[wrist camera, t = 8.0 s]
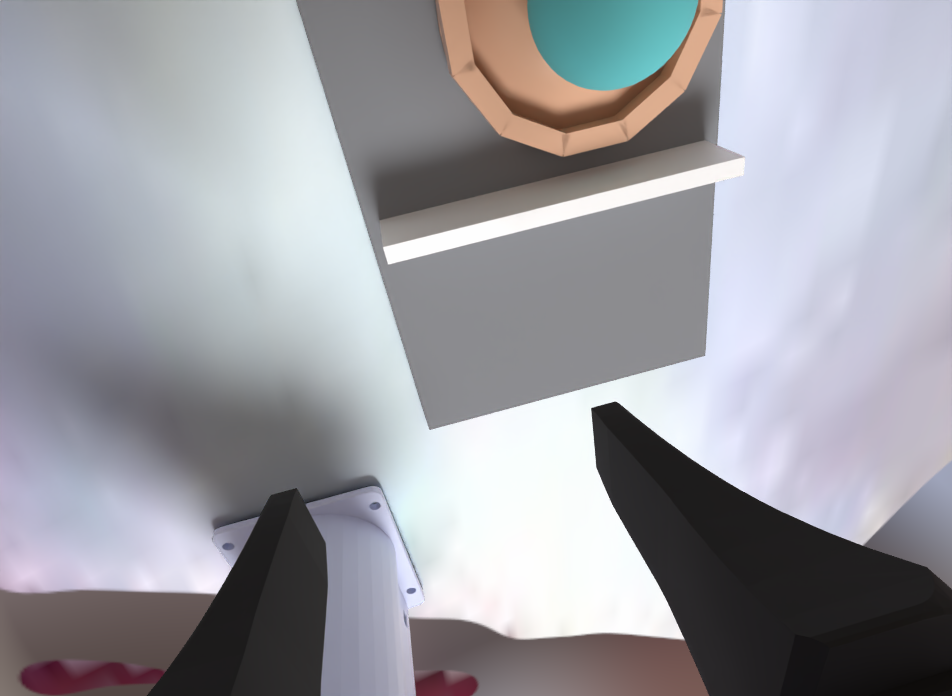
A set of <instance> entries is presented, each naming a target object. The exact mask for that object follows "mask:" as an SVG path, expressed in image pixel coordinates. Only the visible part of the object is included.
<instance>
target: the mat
mask: <svg viewBox="0 0 952 696" xmlns="http://www.w3.org/2000/svg"><path fill="white" fill-rule="evenodd" d="M296 1H297V5H298V8H299V11H300V14H301V17H302V21H303V24H304V27H305V30H306V34H307V37H308V40H309V43H310V46H311V50H312V53H313V56H314V59H315V63H316V66H317V69H318V72H319V75H320V79H321V82H322V85H323V88H324V92H325V95H326V98H327V101H328V104H329V108H330V111H331V114H332V117H333V121H334V124H335V127H336V130H337V133H338V137H339V140H340V143H341V146H342V150H343V153H344V156H345V159H346V162H347V166H348V169H349V172H350V175H351V179H352V182H353V185H354V188H355V191H356V195H357V198H358V201H359V204H360V208H361V211H362V214H363V217H364V220H365V224H366V227H367V230H368V233H369V237H370V240H371V243H372V246H373V249H374V253H375V256H376V259H377V262H378V266H379V269H380V272H381V275H382V278H383V282H384V285H385V288H386V291H387V295H388V298H389V301H390V304H391V307H392V311H393V314H394V317H395V320H396V324H397V327H398V330H399V333H400V336H401V340H402V343H403V346H404V349H405V353H406V356H407V359H408V362H409V365H410V369H411V372H412V375H413V378H414V382H415V385H416V388H417V391H418V394H419V398H420V401H421V404H422V407H423V411H424V414H425V417H426V420H427V423H428V427H429V430H431V429H435V428H439V427H442V426H446V425H450V424H453V423H457V422H461V421H465V420H468V419H472V418H476V417H479V416H483V415H487V414H490V413H494V412H498V411H502V410H505V409H509V408H513V407H516V406H520V405H524V404H528V403H531V402H535V401H539V400H542V399H546V398H550V397H554V396H557V395H561V394H565V393H568V392H572V391H576V390H580V389H583V388H587V387H591V386H594V385H598V384H602V383H606V382H609V381H613V380H617V379H620V378H624V377H628V376H631V375H635V374H639V373H643V372H646V371H650V370H654V369H657V368H661V367H665V366H669V365H672V364H676V363H680V362H683V361H687V360H691V359H695V358H698V357H702V356H705V350H706V333H707V315H708V298H709V280H710V262H711V245H712V227H713V209H714V192H715V183H711V184H707V185H703V186H699V187H695V188H691V189H687V190H683V191H679V192H675V193H671V194H667V195H663V196H659V197H655V198H651V199H647V200H643V201H639V202H635V203H631V204H627V205H623V206H619V207H615V208H611V209H607V210H603V211H599V212H595V213H591V214H587V215H583V216H579V217H575V218H571V219H567V220H563V221H559V222H555V223H551V224H547V225H544V226H540V227H536V228H532V229H528V230H524V231H520V232H516V233H512V234H508V235H504V236H500V237H496V238H492V239H488V240H484V241H480V242H476V243H472V244H468V245H464V246H460V247H456V248H452V249H448V250H444V251H440V252H436V253H432V254H428V255H424V256H420V257H416V258H412V259H408V260H404V261H400V262H396V263H392V264H388V262H387V259H386V256H385V252H384V249H383V243H382V235H381V228H380V220H383V219H387V218H391V217H395V216H399V215H403V214H407V213H411V212H415V211H419V210H423V209H427V208H431V207H436V206H440V205H444V204H448V203H452V202H456V201H460V200H464V199H468V198H472V197H476V196H480V195H484V194H488V193H492V192H496V191H500V190H504V189H509V188H513V187H517V186H521V185H525V184H529V183H533V182H537V181H541V180H545V179H549V178H553V177H557V176H561V175H565V174H569V173H573V172H577V171H581V170H586V169H590V168H594V167H598V166H602V165H606V164H610V163H614V162H618V161H622V160H626V159H630V158H634V157H638V156H642V155H646V154H650V153H654V152H659V151H663V150H667V149H671V148H675V147H679V146H683V145H687V144H691V143H695V142H699V141H703V140H705V141H708V142H710V143H713V144H715V145H717V139H718V121H719V104H720V86H721V69H722V51H723V33H724V16H725V0H723V7H722V13H720V14H722V15H721V17H720V19H719V21H718V23H717V25H716V28H715V30H714V32H713V34H712V36H711V38H710V40H709V42H708V44H707V46H706V48H705V51H704V53H703V55H702V57H701V59H700V61H699V63H698V65H697V67H696V69H695V72H694V74H693V76H692V78H691V80H690V82H689V84H688V86H687V88H686V90H684V91H685V92H684V93H682V94H681V95H680V96H679V97H678V98H677V99H676V100H674V101H673V102H672V103H671V104H670V105H669V106H668V107H666V108H665V109H664V110H663V111H662V112H661V113H660V114H658V115H657V116H656V117H655V118H654V119H653V120H652V121H651V122H649V123H648V124H647V125H646V126H645V127H644V128H643V129H641V130H640V131H639V132H638V133H637V134H636V135H635V136H633V137H632V138H631V139H630V140H628V141H626V142H622V143H618V144H614V145H610V146H606V147H602V148H598V149H594V150H589V151H585V152H581V153H577V154H573V155H569V156H565V157H563V156H562V157H561V156H559V155H556V154H553V153H550V152H547V151H544V150H541V149H538V148H535V147H532V146H529V145H526V144H523V143H520V142H517V141H514V140H511V139H509V138H506V137H503V136H500V135H499V134H498V133H497V132H496V131H495V130H494V129H493V128H492V126H491V125H490V124H489V123H488V121H487V120H486V119H485V118H484V116H483V115H482V114H481V113H480V111H479V110H478V109H477V108H476V107H475V106H474V104H473V103H472V102H471V101H470V100H469V98H468V97H467V96H466V94H465V93H464V92H463V90H462V89H461V88H460V87H459V85H458V84H457V83H456V82H455V80H454V79H453V78H452V77H451V75H450V73H449V70H448V65H447V60H446V55H445V52H444V49H443V45H442V41H441V37H440V33H439V28H438V20H437V13H436V2H435V0H296Z"/></svg>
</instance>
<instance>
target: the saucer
mask: <svg viewBox="0 0 952 696" xmlns="http://www.w3.org/2000/svg"><path fill="white" fill-rule="evenodd" d="M435 2H436V13H437V20H438V28H439V33H440V37H441V41H442V45H443V49H444V52H445V55H446V60H447V65H448V70H449V73H450V75H451V77H452V78H453V79H454V80H455V82H456V83H457V84H458V85H459V87H460V88H461V89H462V90H463V92H464V93H465V94H466V96H467V97H468V98H469V100H470V101H471V102H472V103H473V104H474V106H475V107H476V108H477V109H478V110H479V111H480V113H481V114H482V115H483V116H484V118H485V119H486V120H487V121H488V123H489V124H490V125H491V126H492V128H493V129H494V130H495V131H496V132H497V133H498V134H499V135H500V136H503V137H506V138H509V139H511V140H514V141H517V142H520V143H523V144H526V145H529V146H532V147H535V148H538V149H541V150H544V151H547V152H550V153H553V154H556V155H559V156H561V157H562V156H563V157H565V156H569V155H573V154H577V153H581V152H585V151H589V150H594V149H598V148H602V147H606V146H610V145H614V144H618V143H622V142H626V141H628V140H630V139H631V138H632V137H633V136H635V135H636V134H637V133H638V132H639V131H640V130H641V129H643V128H644V127H645V126H646V125H647V124H648V123H649V122H651V121H652V120H653V119H654V118H655V117H656V116H657V115H658V114H660V113H661V112H662V111H663V110H664V109H665V108H666V107H668V106H669V105H670V104H671V103H672V102H673V101H674V100H676V99H677V98H678V97H679V96H680V95H681V94H682V93H684V92H685V91H684V90H686V88H687V86H688V84H689V82H690V80H691V78H692V76H693V74H694V72H695V69H696V67H697V65H698V63H699V61H700V59H701V57H702V55H703V53H704V51H705V48H706V46H707V44H708V42H709V40H710V38H711V36H712V34H713V32H714V30H715V28H716V25H717V23H718V21H719V19H720V17H721V15H722V14H720V13H722V7H723V0H698V5H697V9H696V12H695V16H694V19H693V21H692V24H691V26H690V28H689V31H688V33H687V35H686V37H685V38H684V40H683V41H682V43H681V45H680V46H679V47H678V49H677V50H676V51H675V53H674V54H673V55H672V57H671V58H670V59H669V60H668V61H667V62H666V63H665V64H664V65H663V66H662V67H661V68H659V69H658V70H657V71H656V72H655V73H653V74H652V75H650V76H648V77H647V78H645V79H644V80H642V81H640V82H638V83H636V84H634V85H631V86H628V87H625V88H621V89H616V90H609V91H598V90H590V89H585V88H582V87H578V86H576V85H574V84H572V83H570V82H568V81H566V80H565V79H563V78H562V77H560V76H559V75H558V74H557V73H555V72H554V71H553V70H552V69H551V68H550V66H549V65H548V64H547V63H546V61H545V60H544V59H543V57H542V56H541V54H540V52H539V51H538V49H537V47H536V44H535V42H534V40H533V37H532V33H531V30H530V25H529V20H528V9H527V0H435Z"/></svg>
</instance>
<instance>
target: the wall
mask: <svg viewBox="0 0 952 696" xmlns="http://www.w3.org/2000/svg"><path fill="white" fill-rule="evenodd" d="M744 165H745V157H744V156H742V155H739V154H737V153H734V152H732V151H730V150H727V149H725V148H722V147H720V146H717V145H715V144H713V143H710V142H708V141H705V140H703V141H699V142H695V143H691V144H687V145H683V146H679V147H675V148H671V149H667V150H663V151H659V152H654V153H650V154H646V155H642V156H638V157H634V158H630V159H626V160H622V161H618V162H614V163H610V164H606V165H602V166H598V167H594V168H590V169H586V170H581V171H577V172H573V173H569V174H565V175H561V176H557V177H553V178H549V179H545V180H541V181H537V182H533V183H529V184H525V185H521V186H517V187H513V188H509V189H504V190H500V191H496V192H492V193H488V194H484V195H480V196H476V197H472V198H468V199H464V200H460V201H456V202H452V203H448V204H444V205H440V206H436V207H431V208H427V209H423V210H419V211H415V212H411V213H407V214H403V215H399V216H395V217H391V218H387V219H383V220H380V228H381V235H382V243H383V249H384V252H385V256H386V259H387V262H388V264H392V263H396V262H400V261H404V260H408V259H412V258H416V257H420V256H424V255H428V254H432V253H436V252H440V251H444V250H448V249H452V248H456V247H460V246H464V245H468V244H472V243H476V242H480V241H484V240H488V239H492V238H496V237H500V236H504V235H508V234H512V233H516V232H520V231H524V230H528V229H532V228H536V227H540V226H544V225H547V224H551V223H555V222H559V221H563V220H567V219H571V218H575V217H579V216H583V215H587V214H591V213H595V212H599V211H603V210H607V209H611V208H615V207H619V206H623V205H627V204H631V203H635V202H639V201H643V200H647V199H651V198H655V197H659V196H663V195H667V194H671V193H675V192H679V191H683V190H687V189H691V188H695V187H699V186H703V185H707V184H711V183H715V182H719V181H722V180H726V179H730V178H734V177H738V176H742V175H744Z"/></svg>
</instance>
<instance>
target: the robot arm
mask: <svg viewBox="0 0 952 696" xmlns="http://www.w3.org/2000/svg"><path fill="white" fill-rule="evenodd" d="M591 411H592V422H593V433H594V445H595V456H596V467H597V470H598V472H599V475H600V477H601V479H602V482H603V484H604V487H605V489H606V491H607V493H608V496H609V498H610V500H611V503H612V505H613V507H614V508H615V510H616V512H617V514H618V515H619V517H620V519H621V521H622V522H623V524H624V526H625V528H626V529H627V531H628V533H629V535H630V536H631V538H632V540H633V541H634V543H635V545H636V547H637V548H638V550H639V552H640V554H641V555H642V557H643V559H644V560H645V562H646V564H647V566H648V567H649V569H650V571H651V573H652V574H653V576H654V578H655V579H656V581H657V583H658V585H659V587H660V589H661V590H662V592H663V594H664V596H665V598H666V600H667V602H668V604H669V606H670V608H671V611H672V613H673V615H674V617H675V619H676V622H677V624H678V626H679V628H680V630H681V632H682V635H683V637H684V639H685V641H686V643H687V646H688V648H689V650H690V653H691V655H692V657H693V659H694V662H695V664H696V666H697V668H698V671H699V673H700V675H701V677H702V680H703V682H704V684H705V686H706V689H707V691H708V694H709V696H952V589H951V588H950V587H949V586H947V584H945V583H944V582H943V581H942V580H941V579H940V578H938V577H937V576H936V575H935V574H934V573H933V572H932V571H930V570H929V569H928V568H927V567H924V566H921V565H918V564H915V563H912V562H909V561H906V560H903V559H900V558H897V557H894V556H891V555H888V554H885V553H882V552H879V551H876V550H873V549H870V548H867V547H864V546H862V545H859V544H856V543H854V542H851V541H849V540H846V539H844V538H841V537H838V536H836V535H833V534H831V533H828V532H826V531H824V530H821V529H819V528H816V527H814V526H812V525H810V524H808V523H805V522H803V521H801V520H799V519H797V518H794V517H792V516H790V515H788V514H786V513H783V512H781V511H779V510H777V509H775V508H773V507H771V506H769V505H767V504H765V503H763V502H761V501H759V500H758V499H756V498H754V497H752V496H750V495H748V494H747V493H745V492H743V491H741V490H739V489H738V488H736V487H734V486H733V485H731V484H729V483H728V482H726V481H724V480H723V479H721V478H719V477H718V476H716V475H715V474H713V473H712V472H710V471H708V470H707V469H705V468H704V467H702V466H701V465H699V464H698V463H696V462H695V461H693V460H692V459H690V458H689V457H687V456H686V455H685V454H683V453H682V452H681V451H679V450H678V449H676V448H675V447H674V446H672V445H671V444H669V443H668V442H667V441H665V440H664V439H663V438H661V437H660V436H659V435H657V434H656V433H655V432H654V431H652V430H651V429H650V428H648V427H647V426H646V425H645V424H643V423H642V422H641V421H640V420H638V419H637V418H636V417H635V416H633V415H632V414H631V413H630V412H629V411H627V410H626V409H625V408H624V407H623V406H621V405H620V404H619V403H617V402H612V403H608V404H605V405H601V406H597V407H594V408H591ZM373 502H378V503H376V504H372V503H373ZM212 540H213V543H214V544H215V545H216V547H217V548H218V550H219V551H220V552H221V554H222V555H223V557H224V558H225V559H226V561H227V562H228V564H229V565H230V566H231V568H232V569H231V571H230V573H229V575H228V577H227V578H226V580H225V582H224V584H223V585H222V587H221V589H220V590H219V592H218V594H217V595H216V597H215V599H214V600H213V602H212V603H211V605H210V607H209V608H208V610H207V612H206V613H205V615H204V617H203V618H202V620H201V621H200V623H199V625H198V626H197V628H196V629H195V631H194V632H193V634H192V635H191V637H190V638H189V640H188V641H187V643H186V644H185V645H184V647H183V648H182V650H181V651H180V653H179V654H178V656H177V657H176V658H175V660H174V661H173V662H172V664H171V665H170V667H169V668H168V669H167V671H166V672H165V673H164V675H163V676H162V677H161V678H160V680H159V681H158V682H157V684H156V685H155V686H154V687H153V689H152V690H151V691H150V692H149V694H148V695H147V696H416V693H415V682H414V671H413V660H412V649H411V639H410V628H409V617H408V608H412V607H415V606H418V605H421V604H422V603H423V602H424V592H423V590H422V587H421V585H420V583H419V580H418V578H417V575H416V573H415V570H414V568H413V565H412V563H411V561H410V558H409V556H408V553H407V551H406V548H405V546H404V543H403V541H402V538H401V536H400V534H399V531H398V529H397V526H396V524H395V521H394V519H393V516H392V514H391V511H390V509H389V507H388V504H387V502H386V499H385V497H384V494H383V492H382V490H381V489H380V488H379V487H376V486H369V487H365V488H361V489H358V490H354V491H350V492H347V493H343V494H339V495H336V496H332V497H328V498H325V499H321V500H318V501H314V502H310V503H307V504H305V503H304V501H303V499H302V497H301V495H300V493H299V492H298V490H297V488H296V489H292V490H288V491H285V492H281V493H277V494H274V495H271V496H270V498H269V499H268V501H267V503H266V505H265V507H264V509H263V511H262V513H261V515H260V516H259V517H255V518H252V519H248V520H244V521H241V522H237V523H233V524H230V525H226V526H222V527H219V528H217V529H216V530H215V531H214V534H213V538H212ZM229 543H230V544H229Z"/></svg>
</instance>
